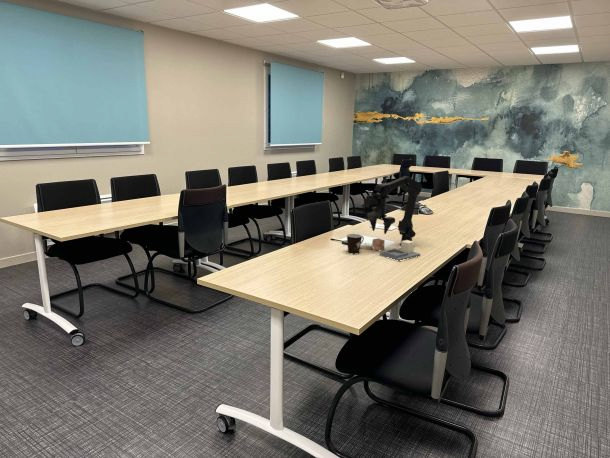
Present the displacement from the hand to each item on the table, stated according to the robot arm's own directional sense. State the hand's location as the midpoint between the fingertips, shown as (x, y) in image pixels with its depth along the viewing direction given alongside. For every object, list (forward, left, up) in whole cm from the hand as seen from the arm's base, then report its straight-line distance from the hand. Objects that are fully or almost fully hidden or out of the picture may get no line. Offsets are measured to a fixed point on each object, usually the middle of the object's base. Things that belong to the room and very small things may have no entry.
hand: (379, 232), depth 249 cm
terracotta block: (0, 0, -11) cm, 11 cm away
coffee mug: (+15, -3, -11) cm, 19 cm away
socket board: (-1, +16, -11) cm, 19 cm away
